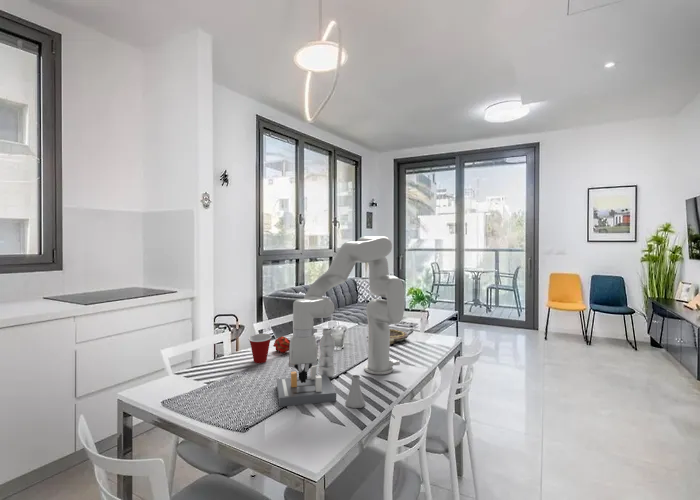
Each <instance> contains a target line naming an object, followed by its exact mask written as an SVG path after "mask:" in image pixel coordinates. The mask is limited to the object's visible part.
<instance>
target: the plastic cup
mask: <svg viewBox="0 0 700 500" xmlns="http://www.w3.org/2000/svg"><path fill="white" fill-rule="evenodd" d="M272 336H273V335H272V334H269V333H256V334H252V335H250V336H249V337H248V341H249V344H250V348H251V353H252V359H253V363H254V364H265V363H266V362H267V361H268V355H269V350H270V344H271V339H272V338H273V337H272Z"/></svg>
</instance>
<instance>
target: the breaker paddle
mask: <svg viewBox="0 0 700 500" xmlns="http://www.w3.org/2000/svg"><path fill="white" fill-rule="evenodd" d="M297 377H298V373H297V371H290V378H291V388H292V387H297Z"/></svg>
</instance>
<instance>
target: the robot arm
mask: <svg viewBox="0 0 700 500" xmlns="http://www.w3.org/2000/svg"><path fill="white" fill-rule="evenodd" d="M392 248H393V243H392V240H390V239H389V238H388V237H387V236H381V235H380V236H379V235H376V236H374V235H369V236H368V235H365V236H361V237H359V238H358V239H357V240H356V241H345V242H344V243H343V244H341V246H340V248H339V250H338V252H337V253H336V254H335V256H334V258H333V260H332V261H331V263H330V265H329V267H328V269H327V270H326V271H325V272H324V273H323V274H322V275H320V276H319V277H318V278H317V279H315V281H313V283H312V284H311V285H310V286H309V288H308V289H307V291H306V293H305V294H304V297H303V298H298V299H296V300H294V301H293V303H292V318H293V319H292V335H291V336H290V339H289V340H290V346H289V351H288V360H289V362H288V367H289V368H294V369H295V370H297V371H298V377H299V380H300V381H301V383H303V382H304V383H306V379H307V377H308V372H309V370H310V368H311V367H312V366H315V365H316V366H317V365H318V352H317V351H318V349H317V339H316V335H315V333H318V328H314V319H326V318H329V317H330V316H332V315H333V314H334V313H335V312H334V311H335V304H334V302H333V301H332V300H331V299H329V298H327V297H324V295H325V294H326V293H327V292H328V291H329V290H331V289H333V288H334V287H336V286H340V285H341V284H344V283H345V282H346V281H347V280H348V279H349V276H350V274H351V272H352V271H353V269H354V267H355V265H356V264H357V263H360V264H361V263H362V264H364V263H367V264H368V281H369V282H368V283H369V284H368V285H369V286H368V287H369V292H370V293H371V294H372V295H373V296H377V297H381V298H374V299H371V300H370V301H369V302H368V303H367V304H366V308H365V313H366V318H367V327H368V330H367V333H368V335H367V336H368V337H367V364H365V365H364V367H363V368H364V369H363V370H364V371H365V372H366V373H368V374H371V375H378V376H379V375H388V374H391V373H392V372H394V371H393V369H394V368H393V367H394V366H400V365H401V363H400V360H395V359H390V349H391V348H390V347H391V344H390V329H391V328H390V325H398V324H399V323H401V322H402V320H403V318H404V315H405V289H404V288H405V287H404V283H403V282H402V279H400V278H399V277H397V276H394V275H390V274H389V263H388V259H387V256H389V255H390V253H391V252H392ZM382 298H386V299H382ZM389 324H390V325H389ZM302 365H304V366H303V368H302Z"/></svg>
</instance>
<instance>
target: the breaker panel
mask: <svg viewBox="0 0 700 500" xmlns="http://www.w3.org/2000/svg"><path fill="white" fill-rule="evenodd" d="M309 370H310V371H309V372H310V376H308V375H307V379H306V383H304V382H303V383H301V381H300V380H299V376H297V387H292V388H291V377H287V378H286V377H284V378H276V391H277V397H278V405H279V407H280V408H281V407H290V406H301V405H311V404H319V403H329V402H337V390H335V389H336V388H334V385H333V384H332V381H331V380H330V377H329V378H328V376H327V375H319V374H318V375H317V365H315V366H312V367H311V368H310V369H309Z"/></svg>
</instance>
